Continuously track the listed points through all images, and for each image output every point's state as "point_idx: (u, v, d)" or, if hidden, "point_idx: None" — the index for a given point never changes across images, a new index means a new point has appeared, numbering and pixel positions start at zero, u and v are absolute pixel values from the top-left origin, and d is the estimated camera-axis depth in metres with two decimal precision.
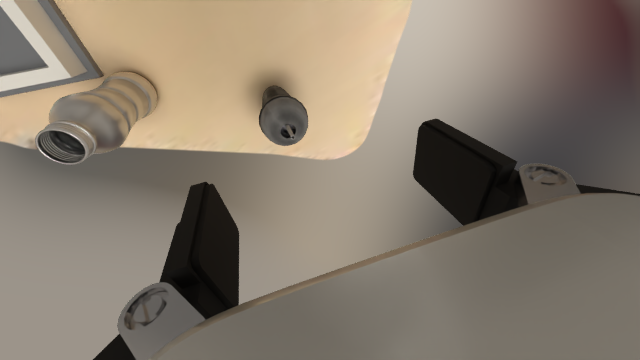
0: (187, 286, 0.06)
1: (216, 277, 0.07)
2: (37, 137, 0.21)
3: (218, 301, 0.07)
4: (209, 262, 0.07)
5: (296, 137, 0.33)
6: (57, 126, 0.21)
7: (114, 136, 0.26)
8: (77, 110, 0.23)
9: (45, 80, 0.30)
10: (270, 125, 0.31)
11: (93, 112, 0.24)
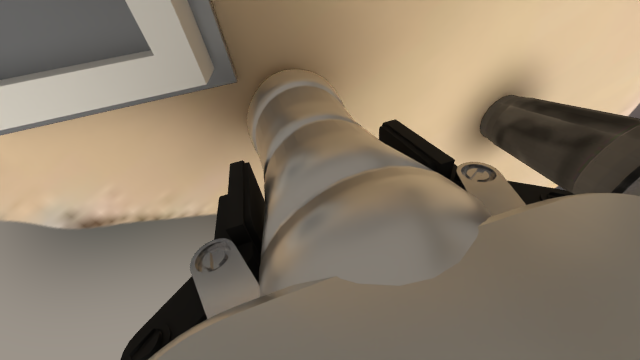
0: (241, 243, 0.07)
1: (261, 240, 0.08)
2: None
3: None
4: (256, 225, 0.08)
5: None
6: None
7: None
8: None
9: (137, 93, 0.10)
10: None
11: None
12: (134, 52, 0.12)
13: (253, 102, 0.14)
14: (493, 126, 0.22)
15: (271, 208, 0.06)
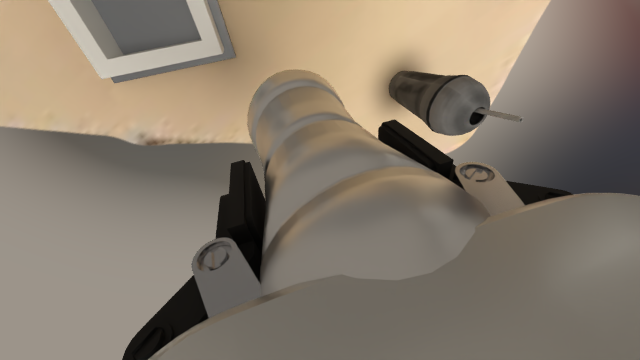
0: (242, 243, 0.07)
1: (262, 239, 0.08)
2: None
3: None
4: (258, 225, 0.08)
5: (479, 124, 0.27)
6: None
7: None
8: None
9: (193, 57, 0.24)
10: (456, 109, 0.26)
11: None
12: (187, 41, 0.27)
13: (253, 102, 0.14)
14: (393, 89, 0.37)
15: (272, 208, 0.07)
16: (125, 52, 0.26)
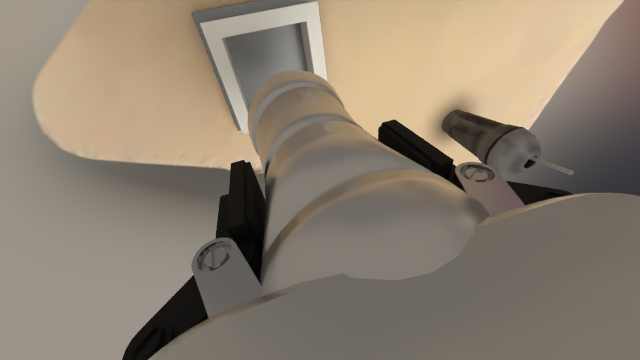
0: (242, 243, 0.07)
1: (262, 239, 0.08)
2: None
3: None
4: (258, 225, 0.08)
5: (530, 167, 0.34)
6: None
7: None
8: None
9: None
10: (514, 157, 0.32)
11: None
12: None
13: (253, 103, 0.14)
14: (447, 126, 0.43)
15: (272, 210, 0.07)
16: None
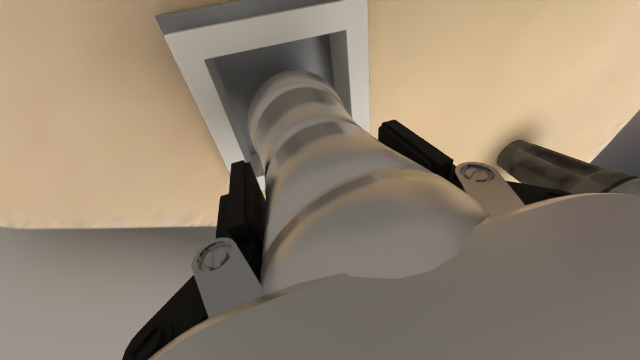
0: (242, 242, 0.07)
1: (262, 239, 0.08)
2: None
3: None
4: (258, 224, 0.08)
5: None
6: None
7: None
8: None
9: None
10: None
11: None
12: None
13: (254, 103, 0.14)
14: (507, 161, 0.33)
15: (272, 210, 0.07)
16: (253, 153, 0.22)
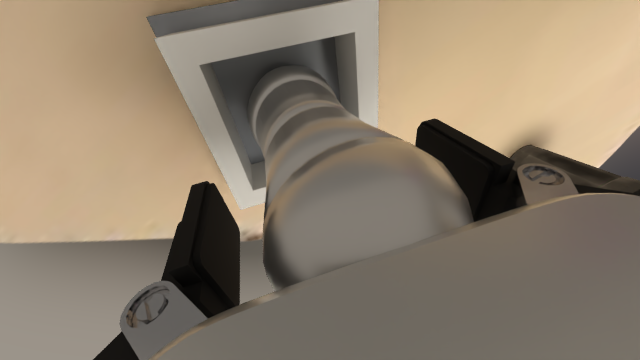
0: (189, 285, 0.06)
1: (217, 276, 0.07)
2: None
3: (219, 300, 0.07)
4: (210, 261, 0.07)
5: None
6: None
7: None
8: None
9: None
10: None
11: None
12: None
13: (253, 96, 0.15)
14: (517, 167, 0.32)
15: (272, 178, 0.08)
16: (254, 162, 0.21)
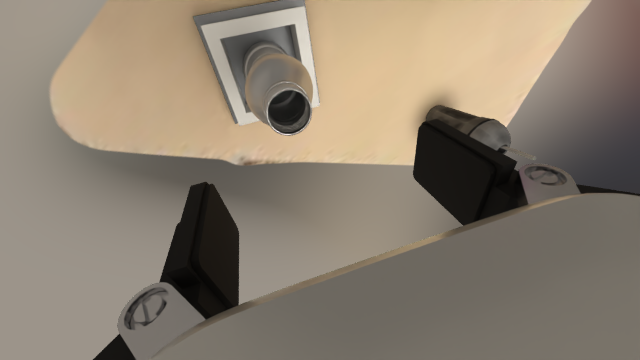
0: (187, 286, 0.06)
1: (216, 277, 0.07)
2: (271, 98, 0.17)
3: (218, 301, 0.07)
4: (209, 262, 0.07)
5: None
6: (290, 86, 0.17)
7: None
8: (290, 71, 0.19)
9: None
10: None
11: (301, 74, 0.20)
12: None
13: (245, 56, 0.29)
14: None
15: None
16: None
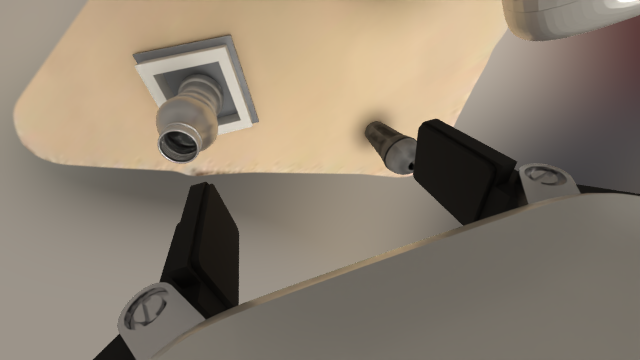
0: (187, 286, 0.06)
1: (216, 277, 0.07)
2: (160, 137, 0.22)
3: (218, 301, 0.07)
4: (209, 262, 0.07)
5: None
6: (176, 127, 0.22)
7: (211, 136, 0.27)
8: (185, 112, 0.24)
9: (235, 129, 0.39)
10: (400, 161, 0.41)
11: (198, 113, 0.25)
12: (229, 115, 0.41)
13: (179, 87, 0.34)
14: (367, 135, 0.51)
15: None
16: None
